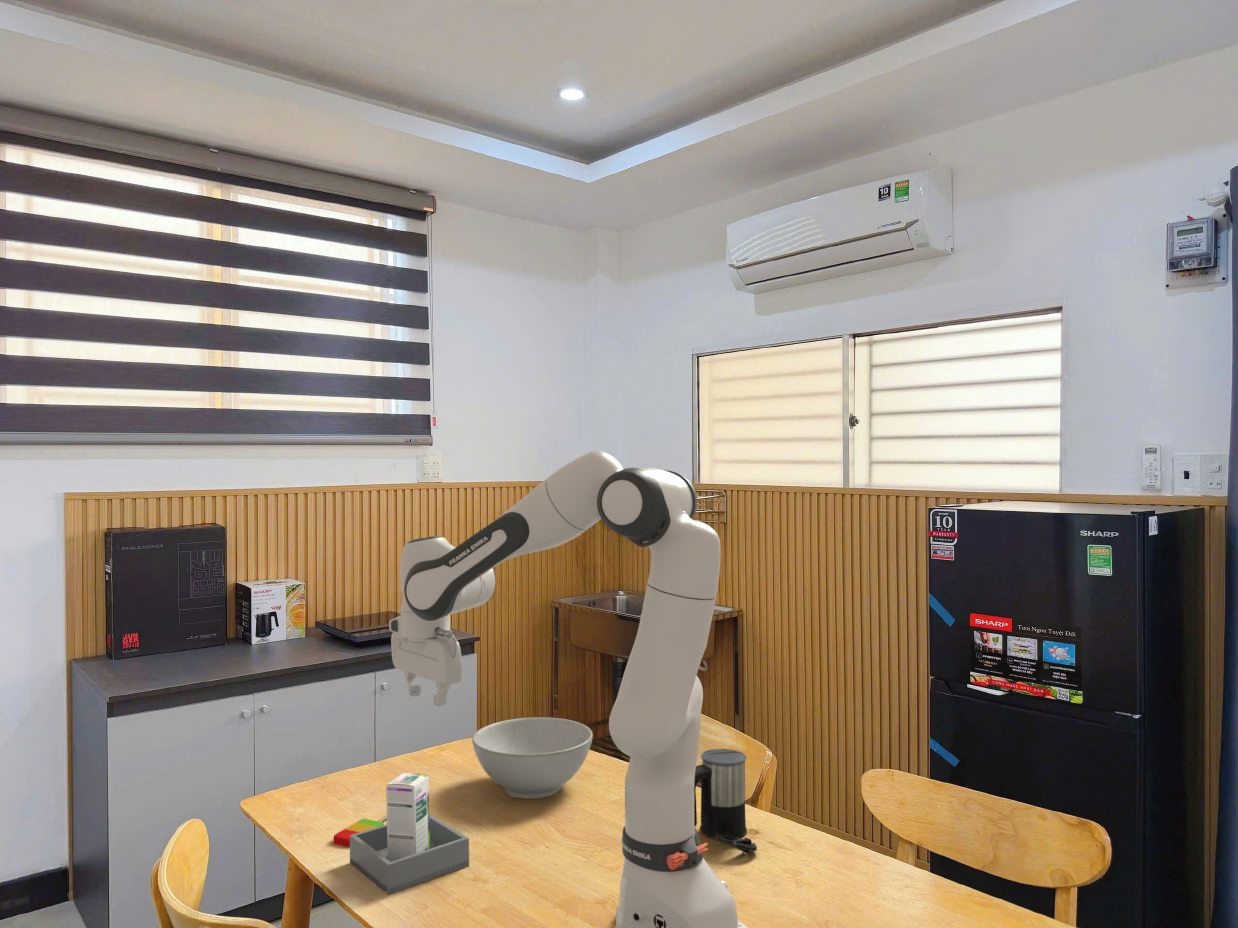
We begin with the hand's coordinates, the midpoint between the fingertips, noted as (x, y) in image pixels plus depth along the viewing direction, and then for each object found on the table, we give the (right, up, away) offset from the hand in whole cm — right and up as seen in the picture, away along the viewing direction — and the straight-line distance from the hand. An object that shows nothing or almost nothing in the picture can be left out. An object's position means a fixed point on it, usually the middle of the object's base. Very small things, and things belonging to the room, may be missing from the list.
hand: (427, 700), depth 157 cm
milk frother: (+57, -29, +8) cm, 64 cm away
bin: (-3, -29, -2) cm, 29 cm away
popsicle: (-15, -30, +13) cm, 36 cm away
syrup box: (-3, -29, -1) cm, 29 cm away
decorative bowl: (+16, -30, +35) cm, 48 cm away
